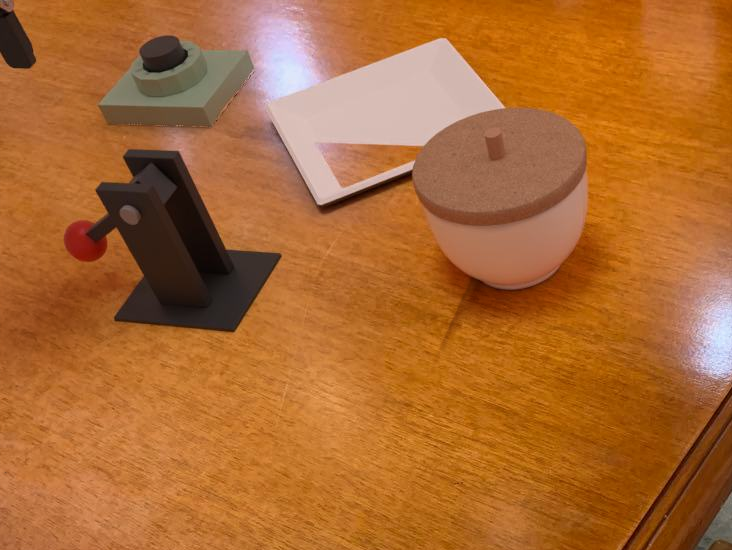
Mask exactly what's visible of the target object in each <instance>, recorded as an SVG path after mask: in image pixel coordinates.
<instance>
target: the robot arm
mask: <svg viewBox="0 0 732 550" xmlns="http://www.w3.org/2000/svg"><path fill="white" fill-rule="evenodd" d="M14 8H15V1H14V0H0V55H1V56H2V58H3V60H4V62H5V63H6V64H7V66H9V67H10V68H12V69H26V70H27V69H28V70H29V69H31V68H32V67H33V66H34V65H35V64H36V63H37V57H36V55H35V54H34V52H35V51H34V47H33V44H32V41H31V39H30V38H29V36H27V32H26V31H25V29H24V27H23V26H22V23H21V21H20V20H19V17H18V16H17V14H16V13H15V11H14Z"/></svg>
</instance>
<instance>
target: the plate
mask: <svg viewBox="0 0 732 550" xmlns="http://www.w3.org/2000/svg"><path fill="white" fill-rule="evenodd" d="M263 107H264V109H265V111H266V113H267V114H268V117H269V118H270V121H271V122H272V124H273V125H274V127H275V129H276V132H277V133H278V135H279V136H280V137H279V138H281V140H282V142H283V144H284V146H285V147H286V149H287V151H288V153H289V155H290V156H291V159H292V160H293V162H294V164H295V166H296V168H297V170H298V172H299V173H300V175H301V177H302V178H303V180H304V182H305V184H306V186H307V188H308V189H309V191H310V194H311V195H312V197H313V199H314V200H315V203H316V204H317V205H318V206H320V207H324V208H325V207H328V206H331V205H333V204H336V203H338V202H341V201H343V200H346V199H349V198H351V197H353V196H356V195H359V194H362V193H364V192H367V191H369V190H371V189H374V188H376V187H379V186H382V185H384V184H387V183H389V182H392V181H394V180H398V179H399V178H402V177H405V176H407V175H410V174H412V170H413V165H414V162H415V160H416V159H415V160H412V161H410V162H407V163H405V164H401V165H399V166H397V167H393V168H392V169H389V170H386V171H384V172H381V173H379V174H376V175H373V176H371V177H369V178H366V179H363V180H361V181H358V182H356V183H353V184H350V185H348V186H346V187H344V186H343V187H342V186H341V185H340V183H339V181H338V179H337V177H336V176H335V174H334V172H333V171H332V169H331V167H330V165H329V164H328V162H327V161H326V159H325V156H324V155H323V154H322V152H321V150H320V148H319V147H318V145H317V144H318V143H321V144H346V145H347V144H348V145H349V144H350V145H351V144H352V145H353V144H354V145H381V146H409V147H410V146H411V147H423V146H424V145H425V144H426V143H427V142H428V141H429V140H430V139H431V138H432V137H433V136H435V135H436V134H437V133H438V132H440V131H441V130H443V129H444V128H446V127H448V126H450V125H451V124H453V123H455V122H457V121H459V120H462V119H464V118H467V117H469V116H472V115H475V114H478V113H481V112H486V111H491V110H496V109H503V108H506V106H505V105H504V104H503V103H502V102H501V101H500V99H499V98H498V97H497V96H496V94H495V93H494V92H493V91H492V90H491V89H490V88H489V86H488V85H487V84H486V83H485V82H484V80H483V79H481V77H480V76H479V74H477V73H476V71H475V70H474V69H473V68H472V67H471V65H470V64H469V63H468V62H467V61H466V60H465V58H464V57H463V56H462V55H461V54H460V53H459V51H458V50H457V49H456V48H455V47H454V45H452V42H450V41H449V39H447V38H446V37H439V38H437V39H434V40H431V41H429V42H425V43H422V44H421V45H418V46H416V47H412V48H411V49H407V50H405V51H402V52H399V53H396V54H394V55H391V56H388V57H386V58H383V59H381V60H378V61H375V62H373V63H370V64H367V65H364V66H362V67H359V68H357V69H354V70H351V71H348V72H346V73H343V74H340V75H338V76H335V77H332V78H330V79H327V80H324V81H322V82H319V83H317V84H314V85H311V86H308V87H305V88H303V89H301V90H298V91H296V92H292V93H290V94H288V95H285V96H282V97H279V98H277V99H274V100H271V101H269V102H267V103H266V104H265V105H264V106H263ZM316 143H317V144H316Z"/></svg>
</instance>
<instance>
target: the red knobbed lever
mask: <svg viewBox="0 0 732 550" xmlns="http://www.w3.org/2000/svg"><path fill="white" fill-rule="evenodd" d="M128 183H133V184H153V186H154V187H155V189H156V191H157V193H158V195H159V197H160V199H161V201H162V203H163V205H165V204H166V202H167V201H168V200H169V198H170V197H171V196H172V194H173V193H174V192H175V190H176V189H177V186H176V185H175V184H174V183H173V182H172V181H171V180H170V179H169V178H167V177H166V176H165V175H164V174H163V173H162V172H161V171H160V170H159V169H158V168H157V167H156V166H155V165H154V164H153V163H150V164H149V165H148V166H147V167H145V168H144V169H143V170H142V171H140V172H139V173H138V174H137V175H136V176H134V177H133V176H132V178H131V180H130V181H129V182H128ZM115 229H117V228H116V226H115V224H114V222H113V221H112V219H111V217H110V216H109V214H108V212H107V213H106V214H105V215H104V216H102V217H100V219H98V220H97V221H96V222H93V221H90V220H87V219H80V220H76V221H73V222H72V223H70V224H69V225H68V226H67V227H66V229H65V232H64V234H63V244H64V247H65V250H66V251H67V253H69V255H71V257H73V258H74V259H76V260H77V261H80V262H85V263H93V262H96V261H97V260H99V259H101V258H102V257H103V256H104V255H105V254H106V252H107V249H108V238H107V235H108V234H110V233H112V232H113V231H114V230H115Z"/></svg>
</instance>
